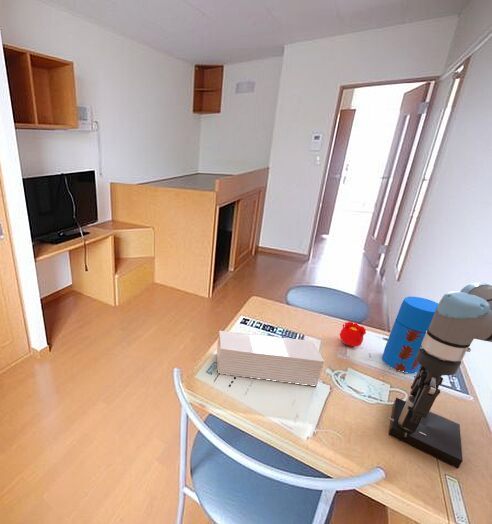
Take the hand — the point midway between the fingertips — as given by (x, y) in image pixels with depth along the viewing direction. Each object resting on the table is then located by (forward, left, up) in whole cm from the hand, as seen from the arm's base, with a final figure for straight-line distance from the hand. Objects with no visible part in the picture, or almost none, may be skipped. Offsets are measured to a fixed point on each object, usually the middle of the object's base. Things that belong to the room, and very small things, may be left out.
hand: (408, 422), depth 83 cm
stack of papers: (+39, +1, -5) cm, 39 cm away
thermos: (+3, -36, -5) cm, 36 cm away
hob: (-4, -4, -5) cm, 7 cm away
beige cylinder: (0, 0, -2) cm, 2 cm away
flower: (+19, -37, -5) cm, 42 cm away
